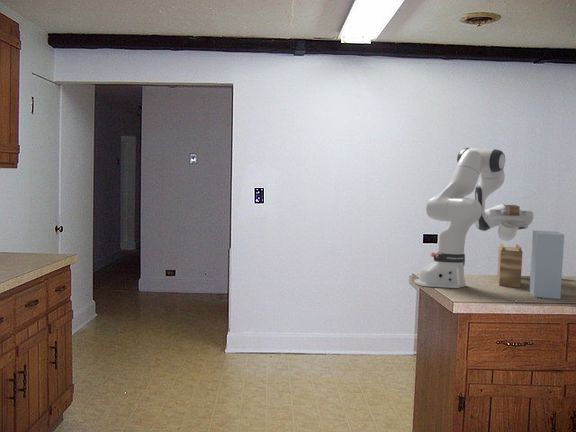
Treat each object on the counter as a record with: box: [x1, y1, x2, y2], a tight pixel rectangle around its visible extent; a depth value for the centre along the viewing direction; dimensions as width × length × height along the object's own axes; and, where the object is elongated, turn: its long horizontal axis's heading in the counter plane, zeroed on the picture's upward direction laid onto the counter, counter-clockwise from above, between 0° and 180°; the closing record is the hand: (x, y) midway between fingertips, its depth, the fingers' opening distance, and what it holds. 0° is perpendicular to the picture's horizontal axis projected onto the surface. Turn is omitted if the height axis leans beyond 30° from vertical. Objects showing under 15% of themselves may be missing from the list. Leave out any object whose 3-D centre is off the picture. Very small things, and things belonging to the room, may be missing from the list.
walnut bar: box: [506, 204, 521, 216], centre depth 276 cm, size 20×4×4 cm, turn 164°
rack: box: [496, 243, 524, 288], centre depth 276 cm, size 16×9×18 cm, turn 164°
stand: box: [528, 230, 565, 300], centre depth 250 cm, size 16×10×26 cm, turn 164°
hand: (511, 208), depth 282 cm, fingers closed on walnut bar, 4 cm apart
